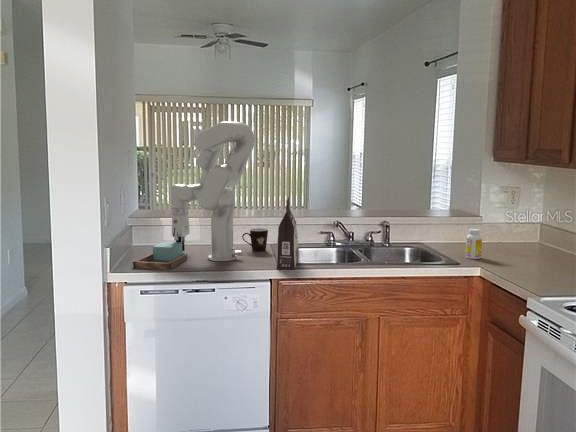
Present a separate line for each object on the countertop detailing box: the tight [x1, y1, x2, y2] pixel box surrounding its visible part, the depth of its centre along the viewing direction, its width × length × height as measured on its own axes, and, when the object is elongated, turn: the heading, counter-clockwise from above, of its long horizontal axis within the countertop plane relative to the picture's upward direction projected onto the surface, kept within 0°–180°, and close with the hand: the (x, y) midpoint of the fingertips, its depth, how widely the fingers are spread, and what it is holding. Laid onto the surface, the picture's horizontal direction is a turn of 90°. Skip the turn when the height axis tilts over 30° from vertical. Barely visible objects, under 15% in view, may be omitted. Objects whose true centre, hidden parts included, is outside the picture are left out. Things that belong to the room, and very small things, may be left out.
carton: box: [152, 241, 184, 262], centre depth 232 cm, size 8×12×6 cm
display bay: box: [132, 252, 188, 271], centre depth 219 cm, size 16×18×2 cm
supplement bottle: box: [465, 228, 483, 260], centre depth 234 cm, size 7×7×13 cm
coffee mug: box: [241, 227, 269, 253], centre depth 247 cm, size 12×9×10 cm
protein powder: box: [275, 196, 299, 270], centre depth 218 cm, size 16×9×28 cm, turn 177°
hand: (180, 251), depth 240 cm, fingers closed
